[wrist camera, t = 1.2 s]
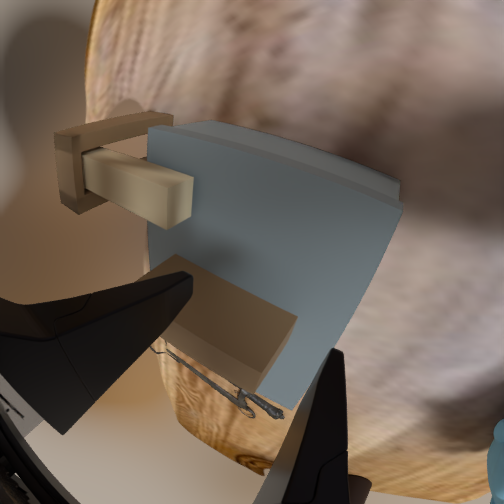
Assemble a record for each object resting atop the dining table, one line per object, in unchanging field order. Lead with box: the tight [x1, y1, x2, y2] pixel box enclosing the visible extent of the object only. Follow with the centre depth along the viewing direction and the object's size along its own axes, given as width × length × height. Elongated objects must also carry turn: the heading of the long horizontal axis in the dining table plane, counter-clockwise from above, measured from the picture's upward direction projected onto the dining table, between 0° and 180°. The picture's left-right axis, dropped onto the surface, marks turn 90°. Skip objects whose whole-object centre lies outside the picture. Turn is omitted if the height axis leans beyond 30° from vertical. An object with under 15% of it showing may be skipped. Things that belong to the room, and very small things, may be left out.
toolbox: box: [54, 111, 400, 215], centre depth 20 cm, size 21×18×10 cm
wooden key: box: [81, 147, 194, 230], centre depth 16 cm, size 10×2×2 cm, turn 80°
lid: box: [135, 125, 403, 410], centre depth 17 cm, size 14×18×7 cm
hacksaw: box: [149, 340, 285, 419], centre depth 39 cm, size 24×10×2 cm, turn 68°
